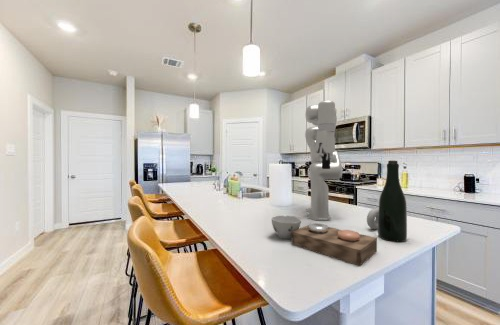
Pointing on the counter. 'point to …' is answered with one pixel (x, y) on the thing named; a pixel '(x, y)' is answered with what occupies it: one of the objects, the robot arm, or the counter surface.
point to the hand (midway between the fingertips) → (326, 168)
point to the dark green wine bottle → (392, 207)
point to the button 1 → (318, 228)
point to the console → (336, 245)
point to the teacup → (285, 225)
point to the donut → (373, 218)
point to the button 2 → (348, 235)
